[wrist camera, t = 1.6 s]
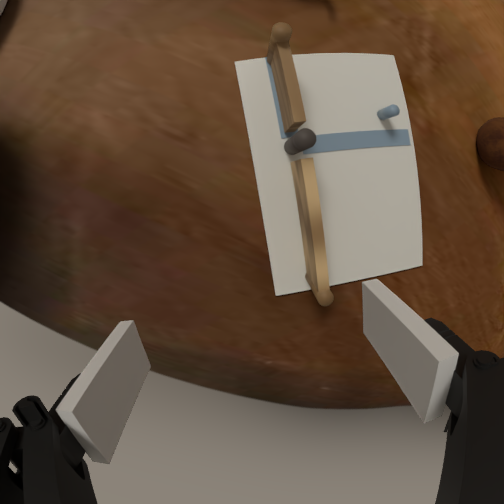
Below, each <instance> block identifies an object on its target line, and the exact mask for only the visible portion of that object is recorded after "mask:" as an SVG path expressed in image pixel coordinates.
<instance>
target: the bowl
mask: <svg viewBox="0 0 504 504" xmlns="http://www.w3.org/2000/svg"><path fill="white" fill-rule="evenodd" d="M6 3H7V0H0V15H1V13H2V12H3V10H4V7H5V5H6Z"/></svg>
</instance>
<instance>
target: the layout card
mask: <svg viewBox="0 0 504 504" xmlns="http://www.w3.org/2000/svg"><path fill="white" fill-rule="evenodd" d="M292 57H293V61H294V65H295V70H296V74H297V79H298V83H299V88H300V92H301V97H302V102H303V107H304V111H305V117H306V122H305V123H304V124H302V125H301V126H300V127H299V128H298V129H297V130H296V131H295V132H288V133H284V128H283V122H282V117H281V112H280V107H279V102H278V97H277V92H276V87H275V82H274V78H273V73H272V68H271V65H270V64H268V62H267V57H265V58H258V59H251V60H244V61H237V62H235V67H236V72H237V77H238V82H239V87H240V93H241V98H242V103H243V109H244V114H245V119H246V125H247V130H248V136H249V141H250V147H251V152H252V158H253V164H254V169H255V175H256V181H257V186H258V192H259V198H260V204H261V209H262V215H263V221H264V227H265V233H266V239H267V245H268V251H269V257H270V263H271V269H272V276H273V282H274V288H275V294H276V296H278V295H284V294H290V293H295V292H300V291H306V290H311V288H310V286H309V284H308V282H307V281H306V279H305V274H306V265H305V257H304V249H303V242H302V234H301V227H300V220H299V213H298V207H297V200H296V194H295V187H294V181H293V175H292V169H291V163H290V162H292V161H296V160H299V159H305V158H313V161H314V167H315V173H316V179H317V186H318V193H319V200H320V207H321V214H322V222H323V230H324V238H325V247H326V256H327V266H328V276H329V286H331V285H336V284H341V283H346V282H351V281H356V280H361V279H365V278H370V277H375V276H379V275H384V274H388V273H393V272H397V271H401V270H406V269H410V268H414V267H418V266H422V222H421V205H420V193H419V182H418V173H417V165H416V157H415V150H414V144H413V138H412V132H411V126H410V121H409V116H408V111H407V106H406V101H405V97H404V93H403V88H402V84H401V80H400V77H399V73H398V69H397V66H396V62H395V59H394V55H382V54H361V53H321V54H300V55H292ZM303 128H308V129H311V130H312V131H313V132H314V133H315V135H316V143H315V145H314V146H313V147H311V148H309V149H307V150H304V151H302V152H299V153H297V154H295V155H290V154H288V153H286V151H285V150H284V144H285V142H286V141H287V140H288V139H289V138H291V137H292V136H293V135H294V134H295V133H297V132H298V131H299V130H300V129H303Z"/></svg>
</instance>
